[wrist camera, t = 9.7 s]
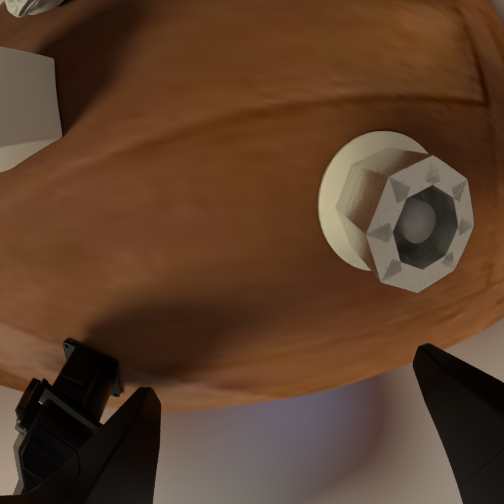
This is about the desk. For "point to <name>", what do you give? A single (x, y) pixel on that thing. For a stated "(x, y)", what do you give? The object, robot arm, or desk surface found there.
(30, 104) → the medicine bottle
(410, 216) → the hub post
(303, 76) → the desk surface
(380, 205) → the ring
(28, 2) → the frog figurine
